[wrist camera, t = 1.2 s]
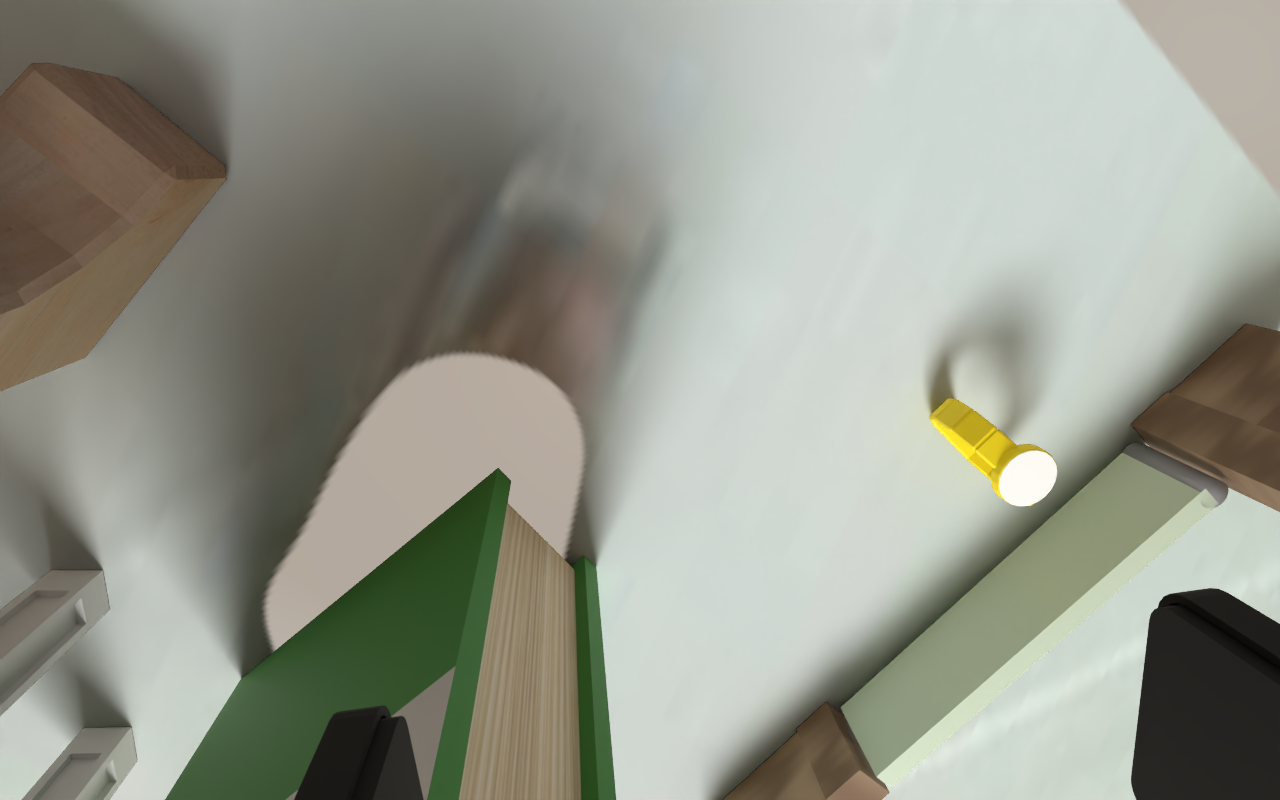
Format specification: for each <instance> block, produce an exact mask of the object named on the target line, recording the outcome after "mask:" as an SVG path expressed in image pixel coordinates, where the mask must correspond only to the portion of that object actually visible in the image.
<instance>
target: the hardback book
mask: <svg viewBox="0 0 1280 800" xmlns="http://www.w3.org/2000/svg"><path fill="white" fill-rule="evenodd" d="M510 484H511V480H510V479H509V478H508V477H507V476H506V475H505V474H504V473H502V472H501V470H500V469H499V468H497V469H496V470H495V471H494V472H493V473H491V474H490V475H489V476H488V477H486V478H485V479H484V480H483V481H482V482H480V483H479V484H478V485H477V486H476V487H474V488H473V489H472V490H471V491H470V492H468V493H467V494H466V495H465V496H463V497H462V498H461V499H460V500H459V501H457V502H456V503H455V504H454V505H453V506H451V507H450V508H449V509H448V510H446V511H445V512H444V513H443V514H441V515H440V516H439V517H438V518H437V519H435V520H434V521H433V522H432V523H430V524H429V525H428V526H427V527H426V528H424V529H423V530H422V531H421V532H419V533H418V534H417V535H416V536H415V537H414V538H412V539H411V540H410V541H408V542H407V543H406V544H405V545H404V546H402V547H401V548H400V549H399V550H398V551H397V552H395V553H394V554H393V555H391V556H390V557H389V558H388V559H387V560H385V561H384V562H383V563H382V564H380V565H379V566H378V567H377V568H376V569H374V570H373V571H372V572H371V573H370V574H369V575H367V576H366V577H365V578H364V579H362V580H361V581H360V582H359V583H357V584H356V585H355V586H354V587H352V588H351V589H350V590H349V591H348V592H346V593H345V594H344V595H343V596H341V597H340V598H339V599H338V600H337V601H335V602H334V603H333V604H332V605H331V606H329V607H328V608H327V609H326V610H324V611H323V612H322V613H321V614H320V615H318V616H317V617H316V618H315V619H313V620H312V621H311V622H310V623H309V624H307V625H306V626H305V627H304V628H303V629H301V630H300V631H299V632H298V633H296V634H295V635H294V636H293V637H291V639H289V640H288V641H287V642H285V643H284V644H283V645H282V646H281V647H279V648H278V649H277V650H276V651H274V652H273V653H272V654H271V655H270V656H268V657H267V658H266V659H265V660H263V661H262V662H261V663H260V664H259V665H257V666H256V667H255V668H254V669H252V670H251V671H250V672H249V673H248V674H246V675H245V676H244V677H243V678H242V679H241V680H240V682H239V683H238V685H237V686H236V688H235V690H234V691H233V693H232V694H231V696H230V698H229V699H228V701H227V702H226V704H225V706H224V707H223V709H222V710H221V712H220V713H219V715H218V717H217V718H216V720H215V721H214V723H213V725H212V726H211V728H210V729H209V731H208V732H207V734H206V736H205V737H204V739H203V740H202V742H201V744H200V745H199V747H198V748H197V750H196V752H195V753H194V755H193V756H192V758H191V759H190V761H189V763H188V764H187V766H186V767H185V769H184V771H183V772H182V774H181V775H180V777H179V779H178V780H177V782H176V783H175V785H174V786H173V788H172V790H171V791H170V793H169V794H168V796H167V798H166V799H165V800H294V798H295V796H296V794H297V792H298V789H299V787H300V785H301V783H302V781H303V778H304V776H305V774H306V772H307V769H308V767H309V765H310V763H311V760H312V758H313V756H314V754H315V752H316V749H317V747H318V745H319V743H320V740H321V738H322V736H323V734H324V731H325V729H326V727H327V725H328V723H329V720H330V719H331V717H332V716H333V714H335V713H336V712H339V711H346V710H354V709H361V708H368V707H375V706H382V705H384V706H386V707H387V708H388V710H389V711H390V714H391V717H397V716H403V717H404V718H405V719H406V721H407V725H408V729H409V734H410V738H411V743H412V748H413V752H414V757H415V762H416V766H417V771H418V776H419V780H420V785H421V790H422V794H423V799H424V800H616V793H615V781H614V770H613V758H612V746H611V735H610V723H609V711H608V700H607V688H606V676H605V665H604V653H603V641H602V630H601V618H600V606H599V595H598V583H597V571H596V567H595V566H594V565H593V564H592V562H591V561H590V560H589V559H588V558H587V557H586V556H585V555H584V556H583V557H582V558H581V559H579V560H578V561H577V562H576V563H574V564H573V565H572V566H570V565H569V564H568V563H567V562H566V561H565V560H564V559H563V558H562V557H561V556H560V555H559V554H558V553H557V552H556V551H555V550H554V549H553V548H552V547H551V546H550V545H549V544H548V543H547V542H546V541H545V540H544V539H543V538H542V537H541V536H540V535H539V534H538V533H537V532H536V531H535V530H534V529H533V528H532V527H531V526H530V525H529V524H528V523H527V522H526V521H525V520H524V519H523V518H522V517H521V516H520V515H519V514H518V513H517V512H516V511H515V510H514V509H513V508H512V507H511V506H510V505H509V504H508V496H509V490H510Z"/></svg>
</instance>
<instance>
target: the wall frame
mask: <svg viewBox="0 0 1280 800" xmlns="http://www.w3.org/2000/svg"><path fill="white" fill-rule="evenodd" d="M1131 426H1132V427H1133V428H1134V429H1135V430H1136V431H1137V432H1138V434H1139V435H1140V436H1141V437H1142V438H1143V439H1144V440H1145V442H1146V443H1147V444H1148V445H1149V446H1150V447H1151V448H1153V449H1155V450H1157V451H1159V452H1161V453H1163V454H1165V455H1167V456H1170V457H1172V458H1174V459H1176V460H1178V461H1180V462H1182V463H1184V464H1186V465H1189V466H1191V467H1193V468H1195V469H1197V470H1199V471H1201V472H1203V473H1206V474H1208V475H1210V476H1212V477H1214V478H1216V479H1218V480H1220V481H1222V482H1224V483H1225V484H1226V485H1227V487H1229V488H1231V489H1233V490H1235V491H1237V492H1239V493H1241V494H1243V495H1245V496H1248V497H1250V498H1252V499H1254V500H1256V501H1258V502H1260V503H1262V504H1264V505H1266V506H1268V507H1271V508H1273V509H1275V510H1277V511H1279V512H1280V331H1276V330H1271V329H1267V328H1262V327H1258V326H1253V325H1249V324H1245V325H1244V326H1243V327H1242V328H1241V329H1240V330H1239V331H1238V332H1237V333H1235V334H1234V335H1233V336H1232V337H1231V338H1230V339H1229V340H1228V341H1227V342H1226V343H1224V344H1223V345H1222V346H1221V347H1220V348H1219V349H1218V350H1217V351H1216V352H1215V353H1213V354H1212V355H1211V356H1210V357H1209V358H1208V359H1207V360H1206V361H1205V362H1204V363H1202V364H1201V365H1200V366H1199V367H1198V368H1197V369H1196V370H1195V371H1194V372H1193V373H1191V374H1190V375H1189V376H1188V377H1187V378H1186V379H1185V380H1184V381H1183V382H1182V383H1180V384H1179V385H1178V386H1177V387H1176V388H1175V389H1174V390H1173V391H1172V392H1171V393H1169V392H1166V393H1165V394H1164V395H1163V396H1161V397H1160V398H1159V399H1158V400H1157V401H1156V402H1155V403H1154V404H1153V405H1152V406H1150V407H1149V408H1148V409H1147V410H1146V411H1145V412H1144V413H1143V414H1142V415H1141V416H1139V417H1138V418H1137V419H1136V420H1135V421H1134V422H1133V423H1132V424H1131ZM796 730H797V733H796V734H794V735H793V736H792V737H791V738H790V739H789V740H788V741H787V742H786V743H785V744H783V745H782V746H781V747H780V748H779V749H778V750H777V751H776V752H775V753H774V754H772V755H771V756H770V757H769V758H768V759H767V760H766V761H765V762H764V763H763V764H761V765H760V766H759V767H758V768H757V769H756V770H755V771H754V772H753V773H752V774H750V775H749V776H748V777H747V778H746V779H745V780H744V781H743V782H742V783H741V784H739V785H738V786H737V787H736V788H735V789H734V790H733V791H732V792H731V793H730V794H728V795H727V796H726V797H725V798H724V799H723V800H882V799H883V798H884V797H885V796H886V795H887V794H889V791H888V789H887V787H886V785H885V783H884V782H882V781H881V780H880V779H878V778H877V777H876V776H875V774H874V772H873V770H872V768H871V766H870V764H869V762H868V760H867V758H866V756H865V754H864V752H863V750H862V749H861V747H860V745H859V743H858V741H857V739H856V737H855V735H854V733H853V731H852V729H851V727H850V725H849V723H848V721H847V720H846V718H845V716H843V715H842V714H841V713H839V712H838V711H837V710H836V709H834V708H833V707H832V706H830V705H829V704H828V703H827V702H825V703H824V704H823V705H822V706H821V707H820V708H819V709H818V710H817V711H815V712H814V713H813V714H812V715H811V716H810V717H809V718H808V719H807V720H806V721H804V722H803V723H802V724H801V725H800V726H799V727H798V728H797V729H796Z"/></svg>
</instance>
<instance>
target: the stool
mask: <svg viewBox="0 0 1280 800" xmlns="http://www.w3.org/2000/svg"><path fill="white" fill-rule="evenodd" d="M109 610H110V608H109V602H108V597H107V591H106V585H105V580H104V574H103V570H51V571H49V572H48V573H47V574H46V575H44V576H43V577H42V578H40V579H39V580H38V581H37V582H35V583H34V584H33V585H32V586H30V587H29V588H28V589H26V590H25V591H24V592H23V593H21V594H20V595H19V596H17V597H16V598H15V599H14V600H12V601H11V602H10V603H9V604H7V605H6V606H5V607H3V608H2V609H1V610H0V716H1V715H2V714H3V713H4V712H5V711H6V710H7V709H8V708H9V707H10V706H11V705H12V704H13V703H14V702H15V701H16V700H17V699H19V698H20V697H21V696H22V695H23V694H24V693H25V692H26V691H27V690H28V689H29V688H30V687H31V686H32V685H33V684H34V683H35V682H36V681H37V680H38V679H39V678H40V677H41V676H42V675H43V674H44V673H45V672H46V671H47V670H48V669H49V668H50V667H51V666H52V665H53V664H55V663H56V662H57V661H58V660H59V659H60V658H61V657H62V656H63V655H64V654H65V653H66V652H67V651H68V650H69V649H70V648H71V647H72V646H73V645H74V644H75V643H76V642H77V641H78V640H79V639H80V638H81V637H82V636H83V635H84V634H85V633H86V632H87V631H88V630H89V629H91V628H92V627H93V626H94V625H95V624H96V623H97V622H98V621H99V620H100V619H101V618H102V617H103V616H104V615H105V614H106V613H107V612H108V611H109ZM136 762H137V756H136V751H135V745H134V739H133V734H132V728H131V727H106V728H83V729H82V730H81V731H80V732H79V734H78V735H77V736H76V737H75V738H74V739H73V741H72V742H71V743H70V744H69V745H68V746H67V748H66V749H65V750H64V751H63V752H62V753H61V755H60V756H59V757H58V758H57V759H56V760H55V762H54V763H53V764H52V765H51V766H50V767H49V769H48V770H47V771H46V772H45V773H44V774H43V776H42V777H41V778H40V779H39V780H38V781H37V783H36V784H35V785H34V786H33V787H32V788H31V790H30V791H29V792H28V793H27V794H26V795H25V797H24V798H23V799H22V800H110V798H111V797H112V795H113V794H114V793H115V791H116V790H117V789H118V787H119V786H120V784H121V783H122V782H123V780H124V779H125V777H126V776H127V775H128V773H129V772H130V770H131V769H132V768H133V766H134V765H135V763H136Z"/></svg>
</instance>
